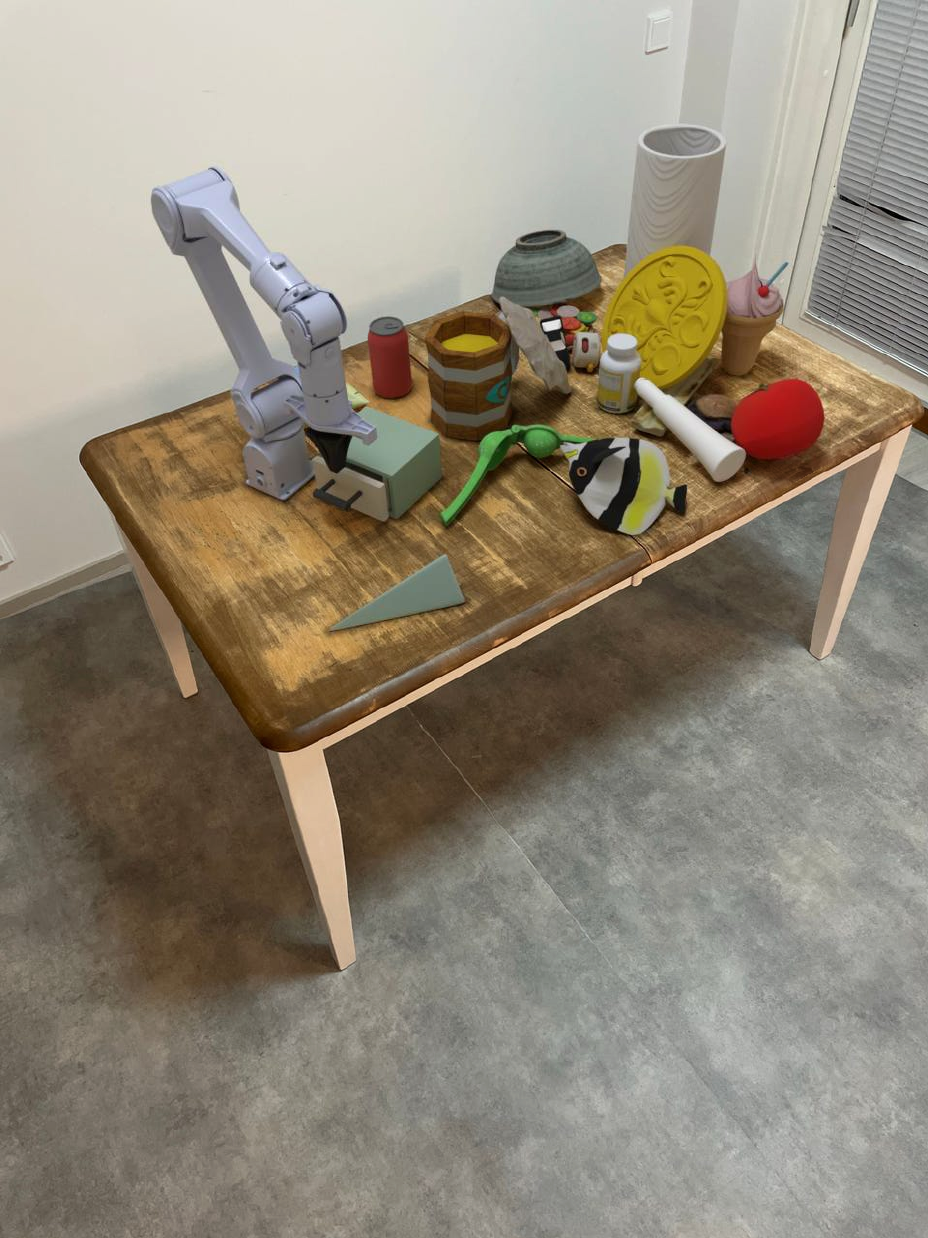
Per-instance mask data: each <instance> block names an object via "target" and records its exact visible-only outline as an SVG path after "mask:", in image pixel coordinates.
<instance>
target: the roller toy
mask: <svg viewBox="0 0 928 1238" xmlns="http://www.w3.org/2000/svg"><path fill="white" fill-rule="evenodd" d="M571 356H572V357H571V358H572V359H571V360H572V365H573V367H575V368H585V369H586V371H587V373H592V372H593V371H594V368H596V367H597V366H598V364H599V363H600V359H601V337H600V334H599V333H598V332H593V333H588V332H578V333H576V334H575V336H574V340H573V348H572V351H571Z"/></svg>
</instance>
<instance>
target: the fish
mask: <svg viewBox="0 0 928 1238" xmlns="http://www.w3.org/2000/svg"><path fill="white" fill-rule="evenodd" d="M596 439H597V440H592V441H589V442H585V443H581V444H572V443H566V442H563V445H561V446H560V447H561V448H560V450H561V451H562V453H563V455H564V456H565V458H566V459H567V461H568V464H569V466H568V477H569V478H568V479H569V480H570V483H571V485H572V488H573V490H574V491H575V493H576V494H577V496H578V498H579V500H580V501H581V503H582V504H583V506H584V507H585V509H586V510H587V511H588V513H590V515H592V517H594V518H595V519H596V520H597V521H599V522H601V523H602V524H604V525H606V526H608V527H610V528H612V529H613V530H617V531H619V532H622V533H624V534H627V535H630V536H636V535H640V534H642V533H644V532H645V531H646V530H647V529H648V528H649V527H650V526H651V525H652V524H653V523H654V522H655V520H656V519H657V518H658V517H659V515H660V514H661V512H662V511H663V509H664V508H665V507H666V502H667V503H668V504H669V505H670V506H671V507H672V508H673V509H675V510H676V511H677V512H679V513H680V514H682V515H685V514H686V502H687V495H688V485H687V483H686V484H681V485H679V486H675V487H674V488H672V489H669V488H670V486H671V474H670V470H669V469H670V468H669V465H668V462H667V461H668V460H667V458H666V456H665V454H664V452H663V451H662V450H661V449H660V447H658V446H657V445H656V444H654V443H652V441H651V442H650V441H649V440H645V439H642V438H633V437H604V438H596Z"/></svg>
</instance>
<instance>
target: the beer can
mask: <svg viewBox="0 0 928 1238" xmlns="http://www.w3.org/2000/svg"><path fill="white" fill-rule="evenodd" d="M368 327H369V329H368V333H367V345H368V354H369V361H370V370H371V379H372V386H373V391H374V392H375V393H376V394H377V395H379V396H380V397H382V398H387V399H395V398H400V397H402V396H405V395H406V394H408V393H409V392H410V390H411V389H412V386H413V380H412V369H411V357H410V356H411V355H410V346H409V335H408V332H407V329H406V327H405V325H404V322H403V320H402V319H400V318H399V317H396V316H388V315H387V316H381V317H378V318H375V319H373V320H372V321H371V322H370V323H369V325H368Z"/></svg>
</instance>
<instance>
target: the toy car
mask: <svg viewBox="0 0 928 1238" xmlns="http://www.w3.org/2000/svg"><path fill="white" fill-rule="evenodd" d="M540 326H541V329H542V331H543V333H544V335H546V336H547V338H548V339H549V342H550V344H551V346H552V347H553V349H554V351H555V353H556V355H557V357H558V358H559V360H561V361H562V362H563V363H564V365H565V368H566V371H568V370H569V369H571V356H570V353H569V350H568V349H567V345H568V344H567V343H566V337H565V332H564V327H563V322H562V317H561V316H555V317H550V318H546V319H541V321H540Z"/></svg>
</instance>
